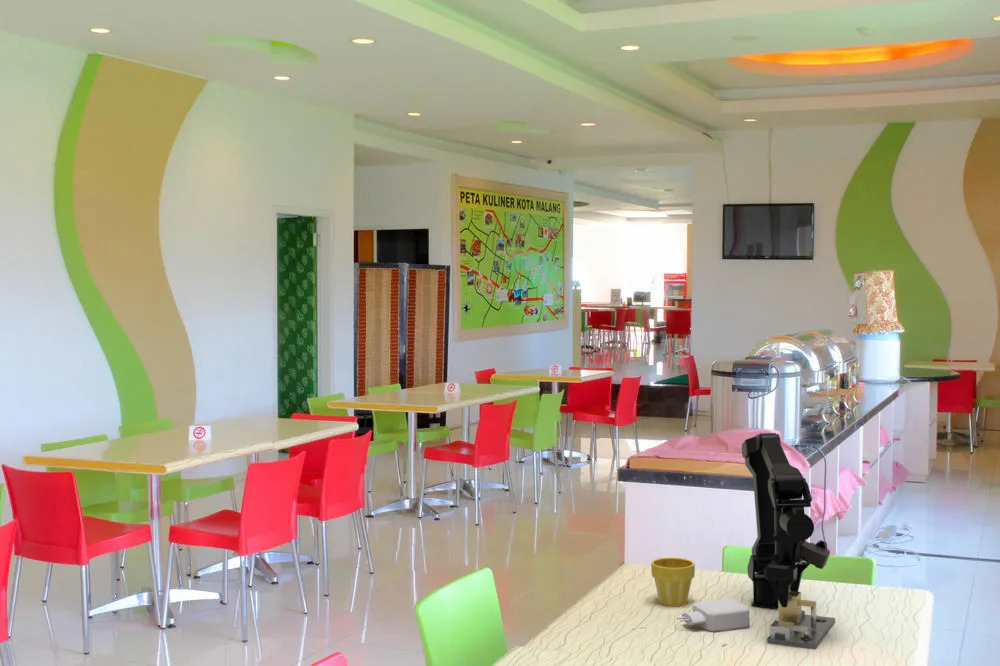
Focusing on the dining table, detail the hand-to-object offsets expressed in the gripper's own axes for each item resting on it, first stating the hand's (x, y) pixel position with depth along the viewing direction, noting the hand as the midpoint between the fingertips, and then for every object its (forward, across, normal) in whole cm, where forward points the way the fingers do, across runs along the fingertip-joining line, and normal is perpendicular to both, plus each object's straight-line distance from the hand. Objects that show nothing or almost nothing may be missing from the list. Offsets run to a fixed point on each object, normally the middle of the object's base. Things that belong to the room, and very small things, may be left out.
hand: (789, 601), depth 231 cm
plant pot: (+7, +11, +30) cm, 33 cm away
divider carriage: (+5, 0, -2) cm, 6 cm away
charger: (+7, -3, +17) cm, 19 cm away
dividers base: (+6, 0, -3) cm, 7 cm away
